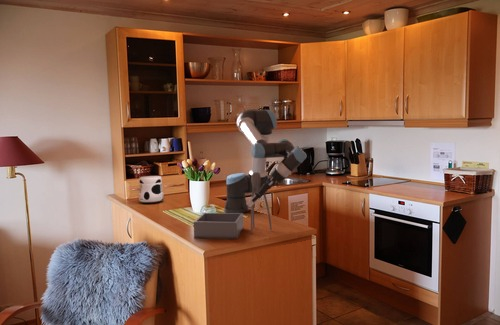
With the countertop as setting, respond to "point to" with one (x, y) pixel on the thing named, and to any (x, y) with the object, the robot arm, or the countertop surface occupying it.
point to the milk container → (151, 189)
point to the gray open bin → (218, 225)
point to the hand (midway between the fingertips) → (249, 203)
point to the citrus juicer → (256, 188)
